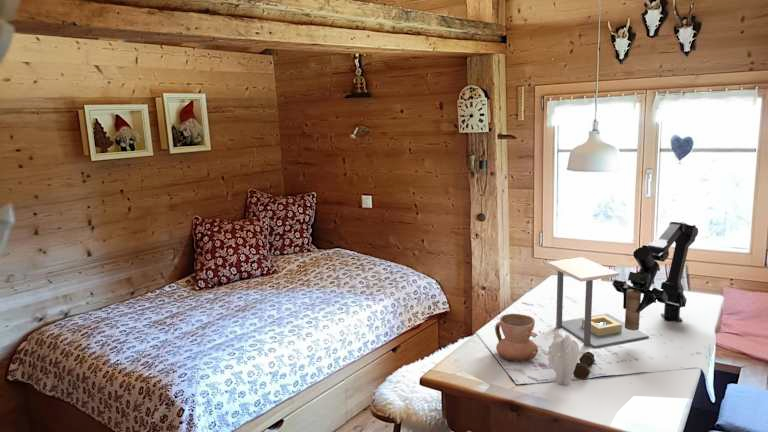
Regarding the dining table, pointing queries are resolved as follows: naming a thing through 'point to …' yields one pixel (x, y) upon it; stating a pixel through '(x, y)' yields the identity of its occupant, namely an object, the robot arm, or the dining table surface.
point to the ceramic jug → (516, 337)
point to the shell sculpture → (563, 357)
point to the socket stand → (590, 306)
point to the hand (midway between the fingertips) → (630, 310)
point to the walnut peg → (632, 309)
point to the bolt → (584, 366)
